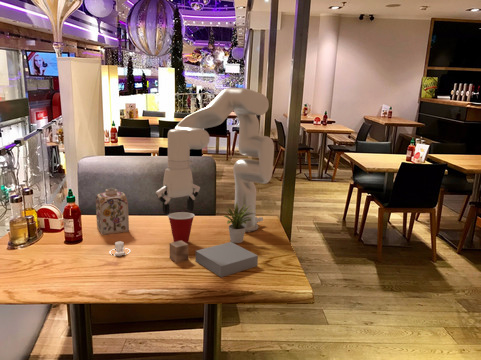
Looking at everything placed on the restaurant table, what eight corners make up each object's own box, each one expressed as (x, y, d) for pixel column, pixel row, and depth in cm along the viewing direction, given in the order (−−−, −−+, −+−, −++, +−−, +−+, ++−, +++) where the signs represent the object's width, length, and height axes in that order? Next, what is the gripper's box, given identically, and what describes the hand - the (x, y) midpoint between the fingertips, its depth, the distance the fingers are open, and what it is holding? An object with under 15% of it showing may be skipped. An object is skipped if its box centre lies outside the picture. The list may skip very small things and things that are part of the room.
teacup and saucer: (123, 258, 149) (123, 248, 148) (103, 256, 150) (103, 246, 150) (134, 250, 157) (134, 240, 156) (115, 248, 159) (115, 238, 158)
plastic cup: (194, 237, 171) (194, 210, 169) (194, 247, 161) (194, 218, 158) (168, 237, 170) (168, 210, 167) (166, 247, 160) (166, 218, 157)
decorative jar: (96, 227, 180) (94, 187, 177) (123, 223, 186) (121, 185, 182) (101, 235, 170) (99, 194, 166) (129, 231, 176) (128, 191, 172)
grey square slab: (230, 251, 158) (230, 241, 157) (257, 266, 145) (257, 255, 144) (195, 261, 148) (195, 250, 147) (220, 277, 136) (221, 266, 135)
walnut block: (181, 255, 153) (181, 240, 151) (188, 259, 149) (188, 244, 148) (169, 258, 150) (169, 243, 148) (176, 263, 146) (176, 247, 145)
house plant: (240, 251, 158) (241, 210, 155) (212, 243, 166) (212, 204, 162) (259, 240, 170) (260, 203, 166) (232, 233, 177) (233, 197, 174)
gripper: (194, 161, 150) (193, 206, 153) (151, 165, 139) (151, 213, 143) (205, 164, 144) (204, 211, 148) (161, 168, 134) (161, 218, 137)
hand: (178, 211), depth 145 cm, fingers open, 9 cm apart
